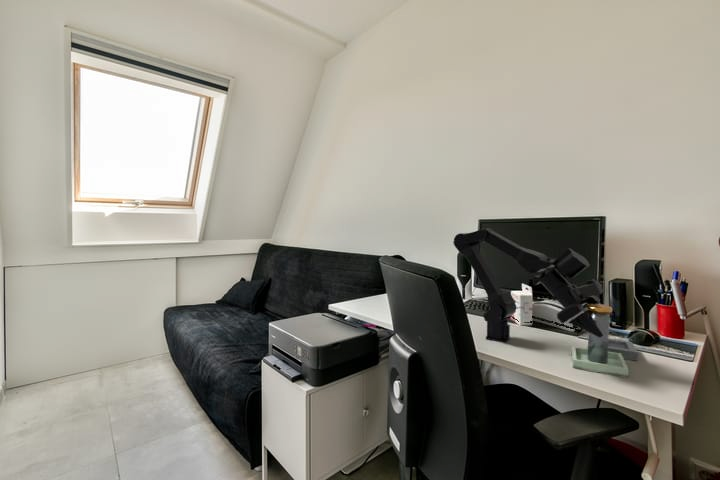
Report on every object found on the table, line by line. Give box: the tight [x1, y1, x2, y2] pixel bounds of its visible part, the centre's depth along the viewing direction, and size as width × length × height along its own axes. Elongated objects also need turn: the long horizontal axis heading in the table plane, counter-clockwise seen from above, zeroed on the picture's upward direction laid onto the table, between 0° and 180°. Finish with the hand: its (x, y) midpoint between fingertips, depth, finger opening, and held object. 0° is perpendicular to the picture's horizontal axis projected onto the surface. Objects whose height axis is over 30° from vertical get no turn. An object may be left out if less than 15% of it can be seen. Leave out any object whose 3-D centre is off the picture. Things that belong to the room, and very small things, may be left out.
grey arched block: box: [532, 300, 581, 332], centre depth 126 cm, size 17×5×10 cm, turn 25°
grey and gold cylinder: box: [587, 303, 613, 364], centre depth 90 cm, size 6×6×15 cm
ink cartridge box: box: [510, 283, 533, 326], centre depth 130 cm, size 9×5×15 cm, turn 179°
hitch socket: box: [608, 338, 639, 362], centre depth 99 cm, size 10×10×2 cm
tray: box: [571, 345, 629, 379], centre depth 91 cm, size 12×12×2 cm
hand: (604, 334), depth 89 cm, fingers closed on grey and gold cylinder, 4 cm apart
